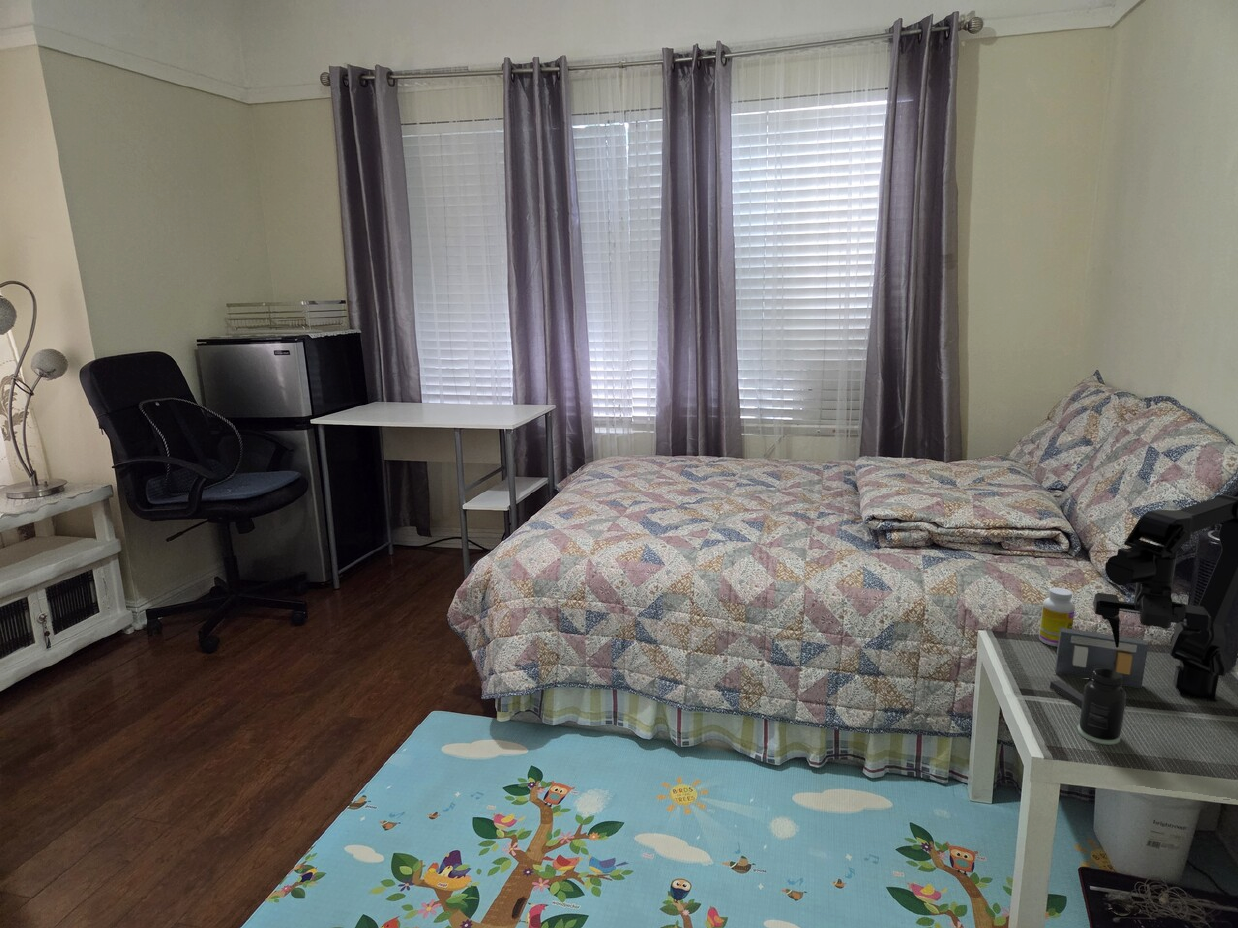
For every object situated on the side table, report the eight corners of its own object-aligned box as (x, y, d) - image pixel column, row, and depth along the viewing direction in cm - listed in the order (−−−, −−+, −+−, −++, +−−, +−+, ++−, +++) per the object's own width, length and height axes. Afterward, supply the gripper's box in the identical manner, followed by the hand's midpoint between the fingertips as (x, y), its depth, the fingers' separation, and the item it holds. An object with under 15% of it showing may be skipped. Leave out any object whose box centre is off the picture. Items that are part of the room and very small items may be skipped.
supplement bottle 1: (1068, 650, 187) (1075, 598, 184) (1036, 643, 190) (1043, 592, 187) (1071, 639, 192) (1078, 589, 189) (1040, 633, 196) (1046, 583, 193)
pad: (1117, 729, 154) (1117, 726, 154) (1122, 748, 148) (1123, 745, 148) (1075, 721, 157) (1076, 718, 157) (1079, 739, 151) (1080, 736, 151)
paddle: (1085, 664, 173) (1087, 647, 172) (1085, 667, 171) (1088, 650, 170) (1072, 662, 173) (1074, 645, 173) (1073, 665, 172) (1075, 648, 171)
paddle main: (1128, 671, 169) (1131, 654, 169) (1129, 674, 168) (1132, 656, 167) (1115, 669, 170) (1117, 652, 169) (1116, 672, 169) (1118, 654, 168)
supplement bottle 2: (1129, 738, 150) (1138, 680, 148) (1099, 743, 149) (1108, 684, 146) (1099, 719, 157) (1107, 662, 154) (1070, 724, 155) (1078, 667, 152)
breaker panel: (1139, 683, 172) (1146, 640, 169) (1141, 689, 169) (1148, 645, 167) (1054, 669, 178) (1060, 627, 175) (1055, 674, 175) (1061, 632, 173)
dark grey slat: (1049, 689, 170) (1050, 681, 170) (1058, 687, 171) (1059, 680, 170) (1103, 724, 157) (1105, 715, 157) (1113, 722, 157) (1114, 714, 157)
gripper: (1103, 584, 152) (1092, 659, 156) (1223, 599, 144) (1209, 678, 148) (1098, 564, 162) (1088, 636, 166) (1210, 578, 154) (1197, 653, 158)
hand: (1143, 650), depth 159 cm, fingers open, 9 cm apart
